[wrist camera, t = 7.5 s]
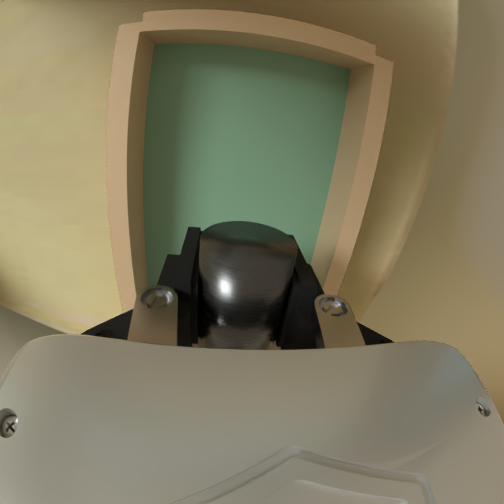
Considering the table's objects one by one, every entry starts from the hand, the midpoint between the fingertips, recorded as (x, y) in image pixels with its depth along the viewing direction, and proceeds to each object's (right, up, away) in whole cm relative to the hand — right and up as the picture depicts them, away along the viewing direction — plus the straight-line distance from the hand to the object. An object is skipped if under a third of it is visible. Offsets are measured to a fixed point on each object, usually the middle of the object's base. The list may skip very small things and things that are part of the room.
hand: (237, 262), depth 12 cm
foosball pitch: (-1, +2, +7) cm, 7 cm away
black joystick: (-1, 0, +6) cm, 6 cm away
